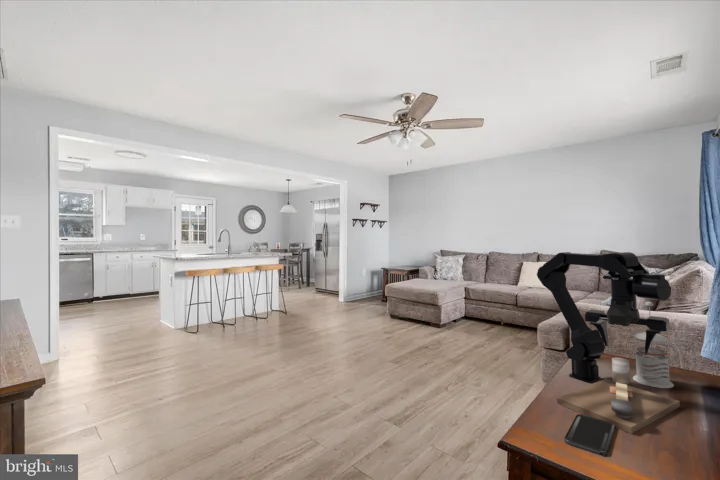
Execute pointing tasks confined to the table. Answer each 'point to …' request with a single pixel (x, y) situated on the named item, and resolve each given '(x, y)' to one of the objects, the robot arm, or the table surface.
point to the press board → (601, 393)
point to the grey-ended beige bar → (621, 387)
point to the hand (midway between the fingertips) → (625, 349)
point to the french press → (653, 362)
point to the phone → (590, 434)
